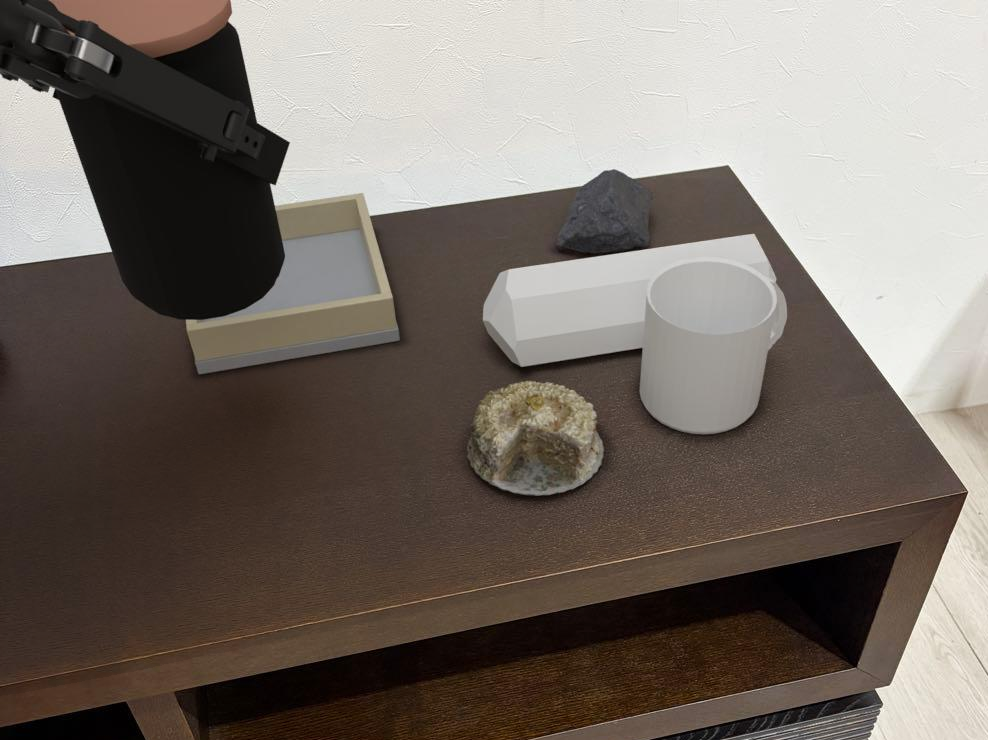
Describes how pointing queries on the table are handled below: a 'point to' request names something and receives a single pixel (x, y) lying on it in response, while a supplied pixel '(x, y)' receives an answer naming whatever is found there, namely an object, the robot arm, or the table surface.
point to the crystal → (591, 300)
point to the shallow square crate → (308, 293)
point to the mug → (707, 343)
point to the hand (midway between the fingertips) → (207, 139)
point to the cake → (534, 439)
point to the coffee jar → (175, 169)
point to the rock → (607, 215)
